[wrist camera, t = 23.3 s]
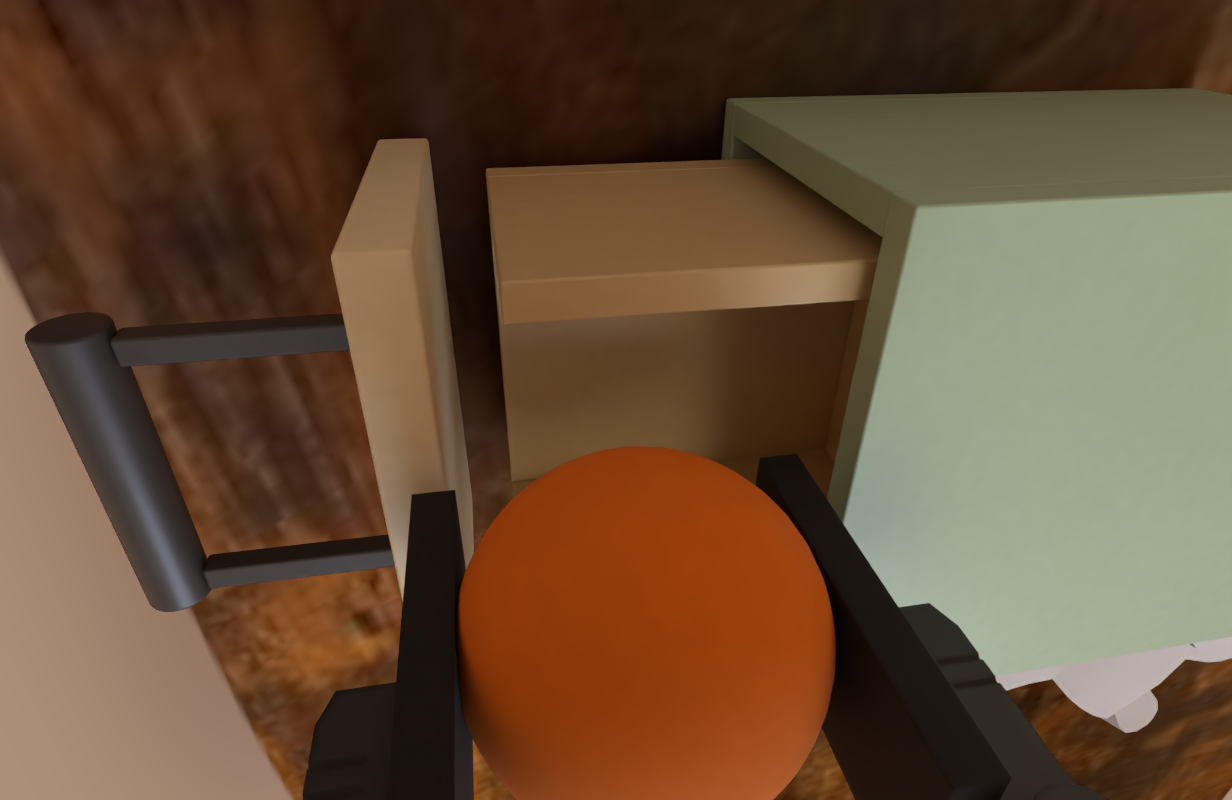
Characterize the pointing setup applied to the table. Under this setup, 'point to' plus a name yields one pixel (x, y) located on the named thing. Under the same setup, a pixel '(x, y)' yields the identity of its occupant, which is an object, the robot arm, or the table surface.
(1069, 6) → the table surface
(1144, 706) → the bunny figurine
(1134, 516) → the cabinet
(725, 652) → the ball
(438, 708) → the robot arm
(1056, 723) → the table surface
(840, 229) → the drawer
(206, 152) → the table surface
